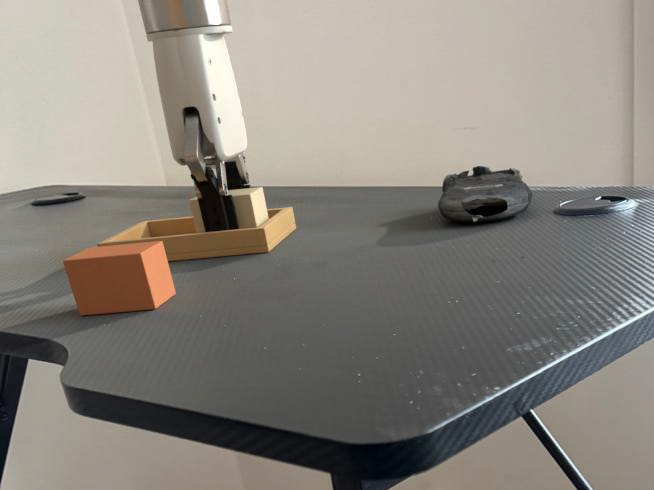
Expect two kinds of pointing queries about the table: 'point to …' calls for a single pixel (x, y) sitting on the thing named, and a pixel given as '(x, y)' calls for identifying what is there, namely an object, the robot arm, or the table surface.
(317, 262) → the table surface
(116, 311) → the pad
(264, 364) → the table surface
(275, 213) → the tray
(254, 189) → the pad
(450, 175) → the electronic device
